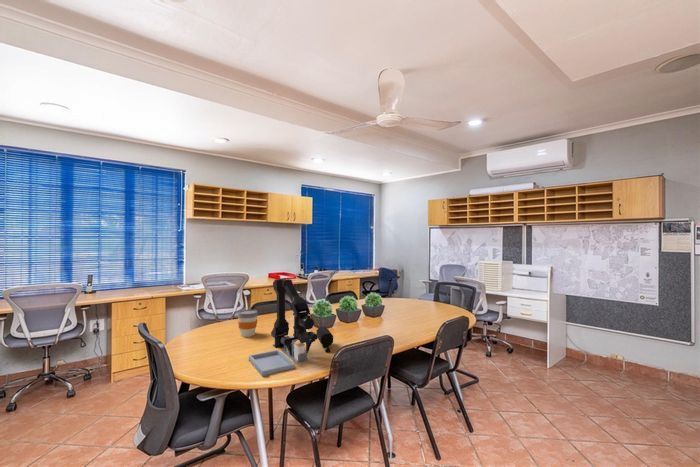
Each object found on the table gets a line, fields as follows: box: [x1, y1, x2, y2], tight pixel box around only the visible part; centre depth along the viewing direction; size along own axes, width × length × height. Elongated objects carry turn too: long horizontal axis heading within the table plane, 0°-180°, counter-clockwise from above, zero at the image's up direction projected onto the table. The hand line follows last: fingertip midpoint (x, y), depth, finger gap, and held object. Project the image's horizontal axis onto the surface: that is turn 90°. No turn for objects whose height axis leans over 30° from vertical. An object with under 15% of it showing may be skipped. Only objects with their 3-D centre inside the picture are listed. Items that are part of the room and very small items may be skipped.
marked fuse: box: [294, 340, 306, 360], centre depth 170 cm, size 6×3×8 cm, turn 32°
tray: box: [248, 349, 296, 377], centre depth 163 cm, size 23×16×2 cm
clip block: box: [280, 345, 310, 364], centre depth 175 cm, size 21×8×4 cm, turn 32°
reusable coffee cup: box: [237, 309, 259, 338], centre depth 211 cm, size 13×13×15 cm
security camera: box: [316, 326, 334, 353], centre depth 188 cm, size 7×18×10 cm, turn 16°
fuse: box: [286, 335, 297, 353], centre depth 180 cm, size 6×3×8 cm, turn 32°
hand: (299, 354), depth 170 cm, fingers open, 9 cm apart
